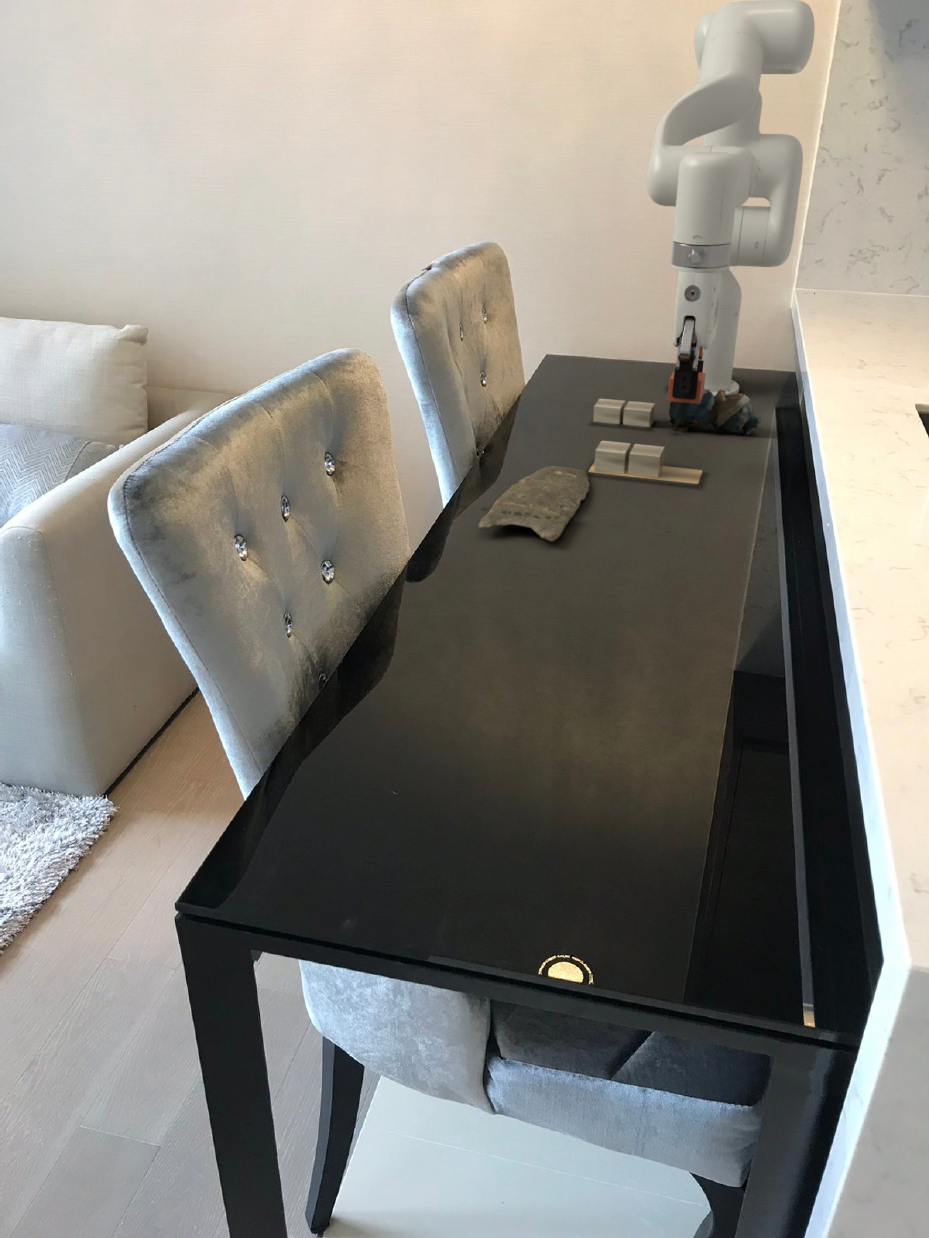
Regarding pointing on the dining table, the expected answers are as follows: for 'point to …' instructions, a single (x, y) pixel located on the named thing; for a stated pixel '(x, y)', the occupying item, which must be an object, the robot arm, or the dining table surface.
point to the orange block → (698, 395)
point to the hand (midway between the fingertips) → (686, 391)
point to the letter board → (665, 474)
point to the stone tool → (540, 501)
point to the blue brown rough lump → (715, 413)
